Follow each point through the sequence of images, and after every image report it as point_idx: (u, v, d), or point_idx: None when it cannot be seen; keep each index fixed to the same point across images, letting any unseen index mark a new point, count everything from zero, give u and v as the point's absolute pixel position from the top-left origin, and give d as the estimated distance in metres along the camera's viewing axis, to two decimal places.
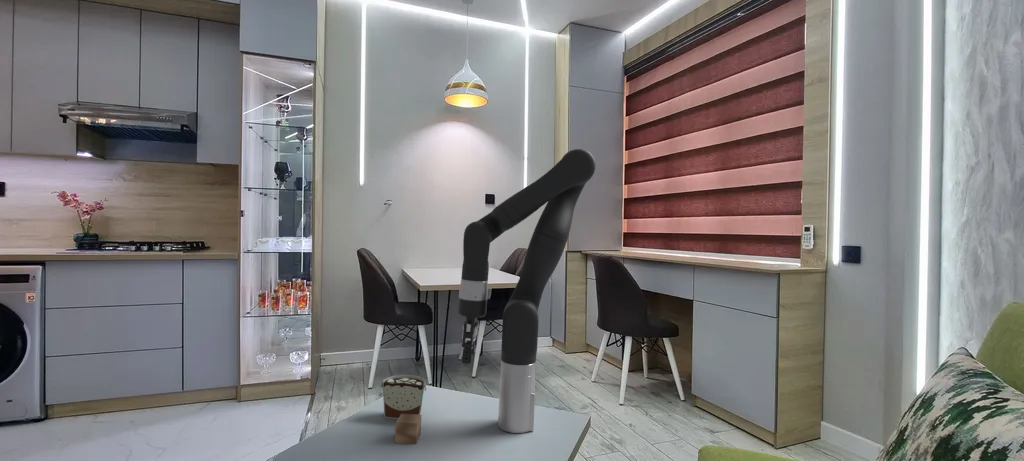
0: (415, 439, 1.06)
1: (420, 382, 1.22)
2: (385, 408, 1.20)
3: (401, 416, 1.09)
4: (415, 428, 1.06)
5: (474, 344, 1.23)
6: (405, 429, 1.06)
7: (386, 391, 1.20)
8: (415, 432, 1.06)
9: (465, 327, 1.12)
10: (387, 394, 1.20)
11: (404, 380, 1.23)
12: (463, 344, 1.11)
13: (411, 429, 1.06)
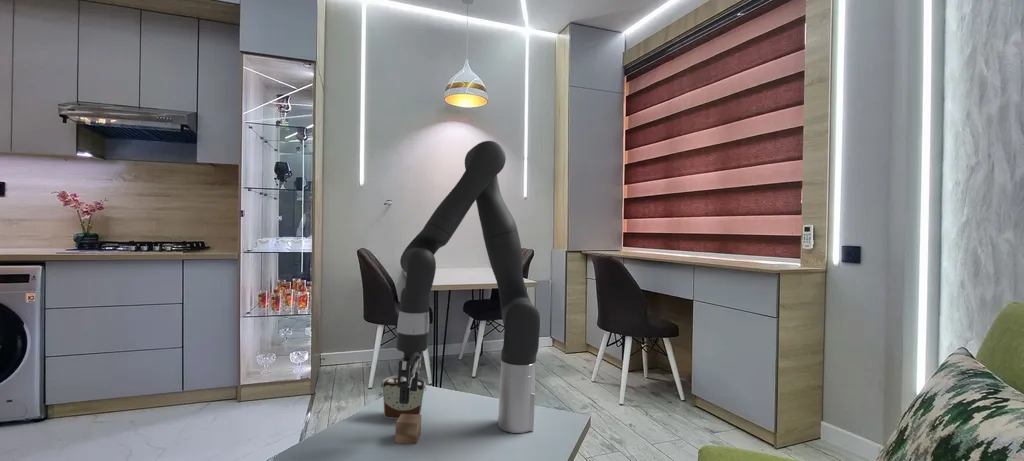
0: (415, 439, 1.06)
1: (420, 382, 1.22)
2: (385, 408, 1.20)
3: (401, 416, 1.09)
4: (415, 428, 1.06)
5: (417, 380, 1.13)
6: (405, 429, 1.06)
7: (386, 391, 1.20)
8: (415, 432, 1.06)
9: (400, 365, 1.02)
10: (387, 394, 1.20)
11: (404, 380, 1.23)
12: (398, 384, 1.02)
13: (411, 429, 1.06)
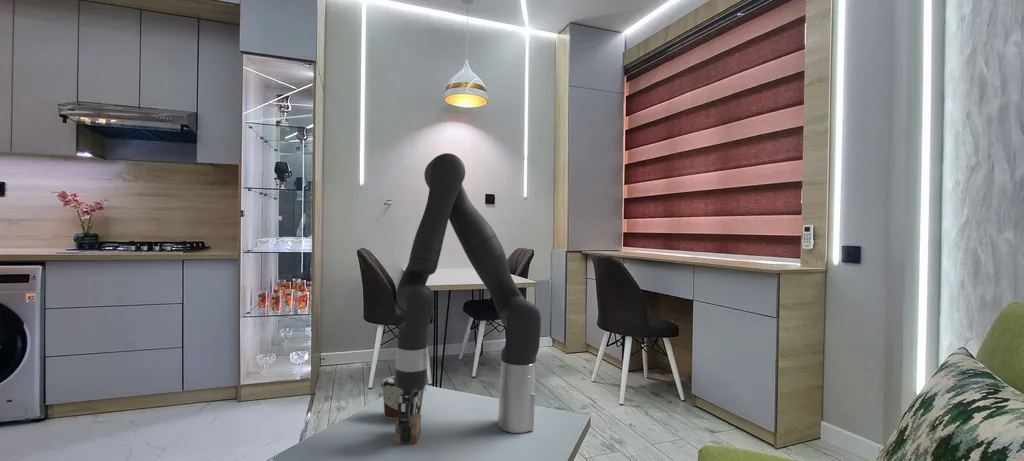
0: (415, 439, 1.06)
1: None
2: (385, 408, 1.20)
3: None
4: (415, 428, 1.06)
5: None
6: None
7: (386, 391, 1.20)
8: (415, 432, 1.06)
9: (399, 408, 1.02)
10: (387, 394, 1.20)
11: None
12: (399, 424, 1.03)
13: (411, 429, 1.06)
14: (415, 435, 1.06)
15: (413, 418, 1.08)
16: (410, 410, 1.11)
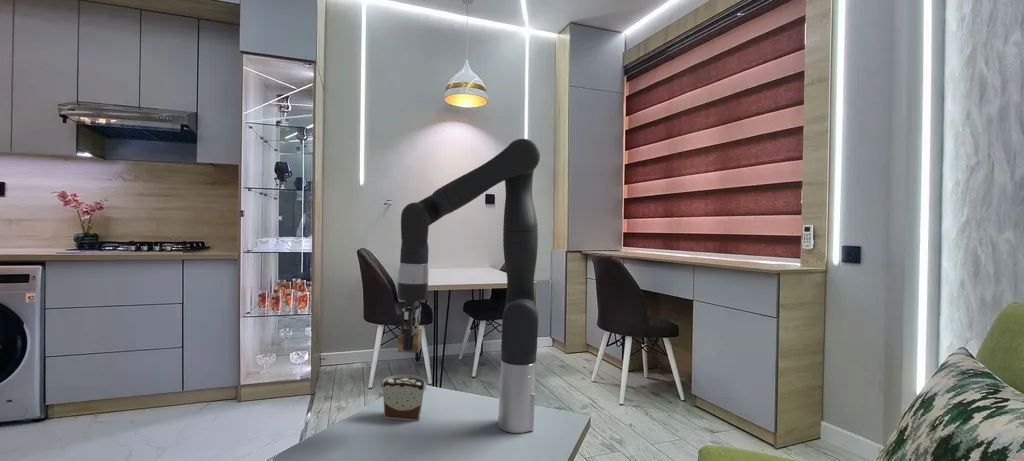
0: (417, 348, 1.13)
1: (420, 382, 1.22)
2: (385, 408, 1.20)
3: None
4: (416, 337, 1.13)
5: None
6: None
7: (386, 391, 1.20)
8: (417, 341, 1.13)
9: (403, 315, 1.08)
10: (387, 394, 1.20)
11: (404, 380, 1.23)
12: (402, 331, 1.09)
13: None
14: (417, 344, 1.13)
15: (414, 330, 1.15)
16: None
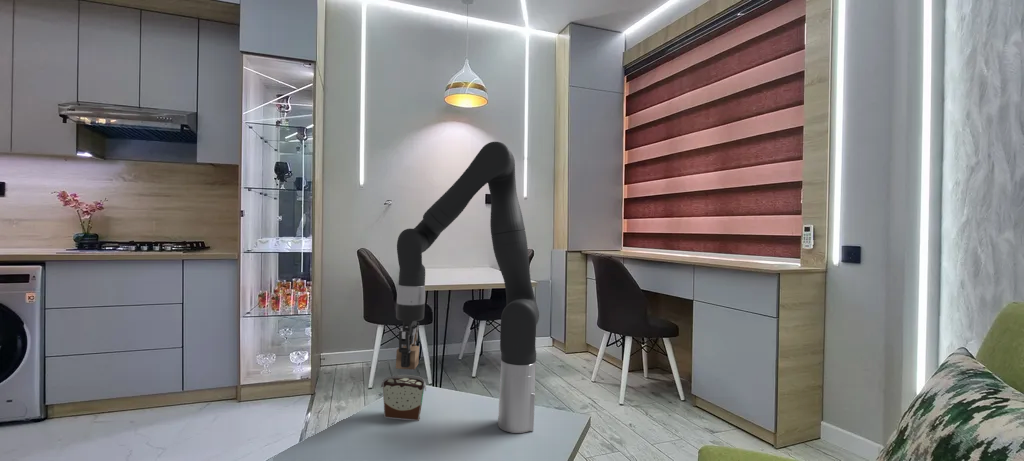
0: (413, 365, 1.20)
1: (420, 382, 1.22)
2: (385, 408, 1.20)
3: None
4: (413, 355, 1.20)
5: None
6: None
7: (386, 391, 1.20)
8: (413, 359, 1.20)
9: (400, 335, 1.16)
10: (387, 394, 1.20)
11: (404, 380, 1.23)
12: (400, 350, 1.17)
13: (410, 356, 1.20)
14: (413, 361, 1.20)
15: (412, 348, 1.22)
16: None
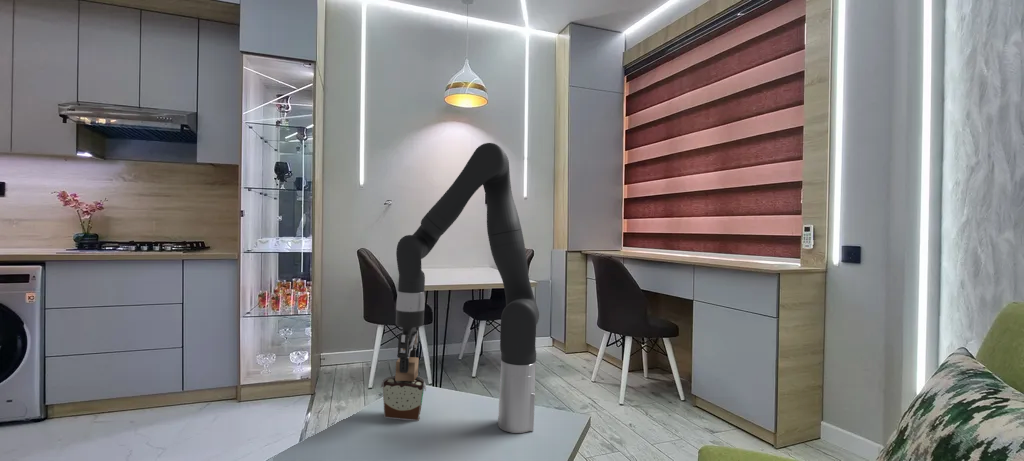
0: (413, 377, 1.20)
1: (420, 382, 1.22)
2: (385, 408, 1.20)
3: None
4: (413, 367, 1.20)
5: (415, 353, 1.27)
6: None
7: (386, 391, 1.20)
8: (413, 370, 1.20)
9: (400, 338, 1.16)
10: (387, 394, 1.20)
11: None
12: (398, 354, 1.16)
13: (409, 368, 1.20)
14: (413, 373, 1.20)
15: (411, 359, 1.22)
16: None
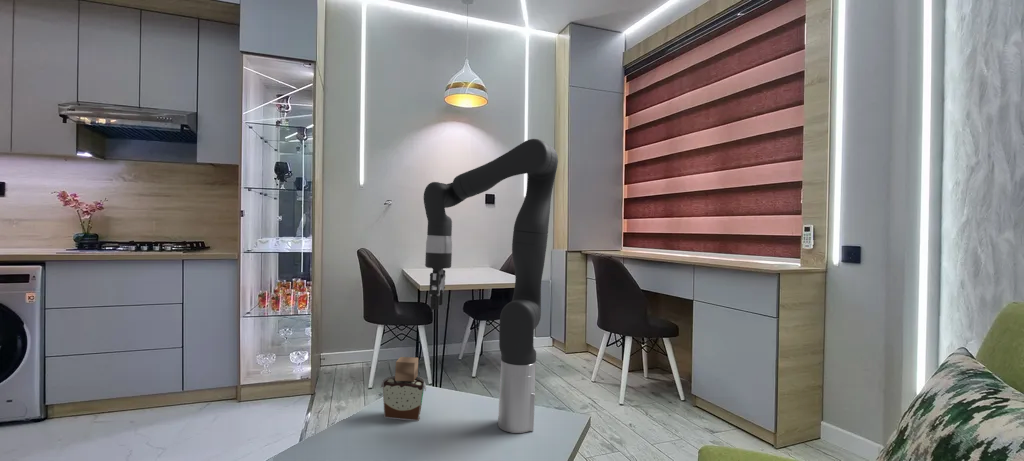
0: (413, 377, 1.20)
1: (420, 382, 1.22)
2: (385, 408, 1.20)
3: (400, 358, 1.23)
4: (413, 367, 1.20)
5: (442, 295, 1.35)
6: (403, 368, 1.20)
7: (386, 391, 1.20)
8: (413, 371, 1.20)
9: (431, 276, 1.24)
10: (387, 394, 1.20)
11: None
12: (430, 291, 1.24)
13: (409, 368, 1.20)
14: (413, 373, 1.20)
15: (411, 360, 1.22)
16: None
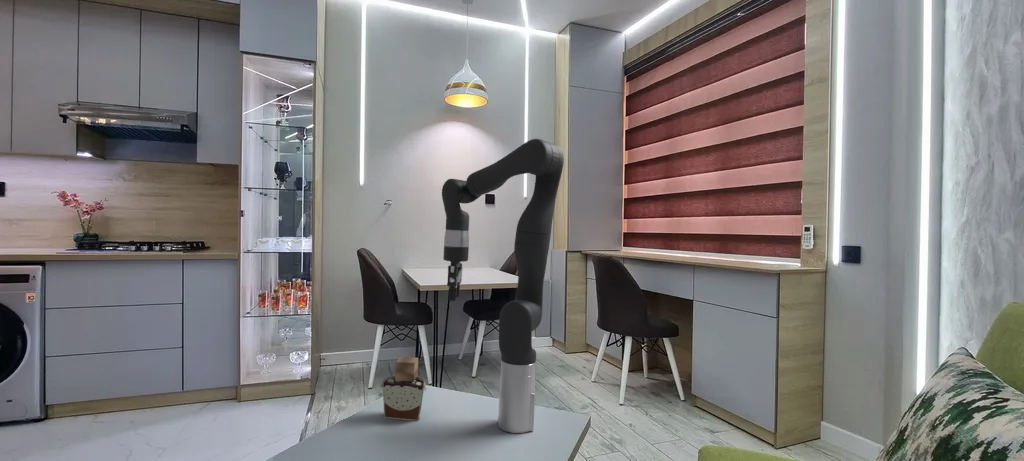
0: (413, 377, 1.20)
1: (420, 382, 1.22)
2: (385, 408, 1.20)
3: (400, 358, 1.23)
4: (413, 367, 1.20)
5: (459, 287, 1.41)
6: (403, 368, 1.20)
7: (386, 391, 1.20)
8: (413, 371, 1.20)
9: (449, 268, 1.30)
10: (387, 394, 1.20)
11: None
12: (448, 283, 1.30)
13: (409, 368, 1.20)
14: (413, 374, 1.20)
15: (411, 360, 1.22)
16: None
